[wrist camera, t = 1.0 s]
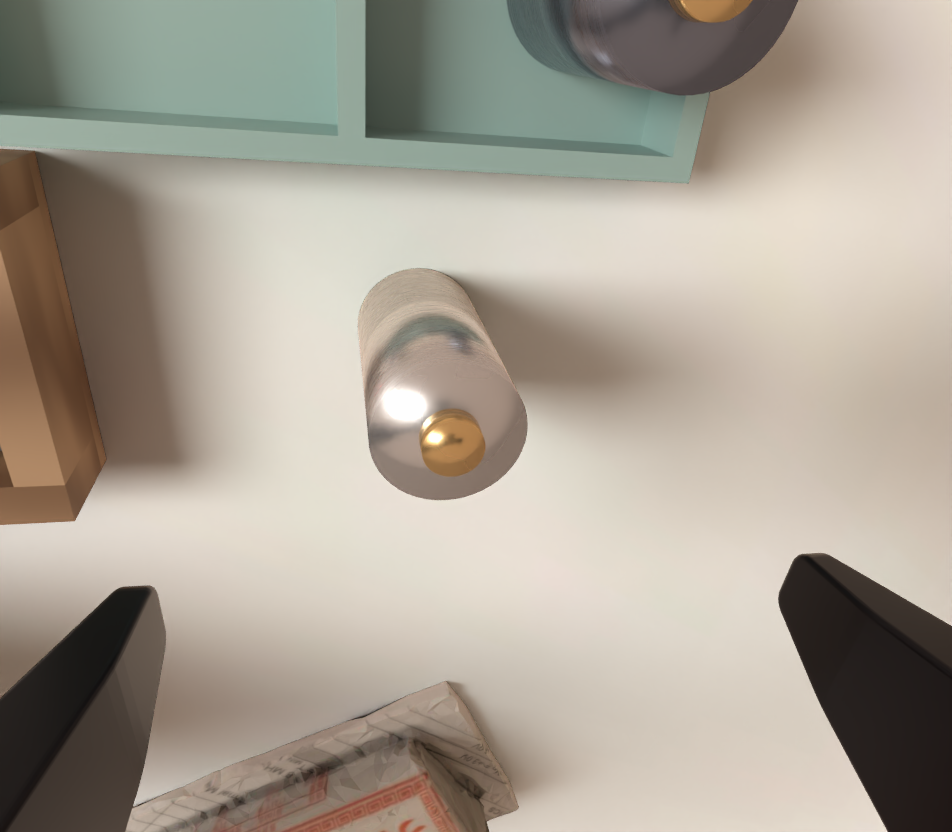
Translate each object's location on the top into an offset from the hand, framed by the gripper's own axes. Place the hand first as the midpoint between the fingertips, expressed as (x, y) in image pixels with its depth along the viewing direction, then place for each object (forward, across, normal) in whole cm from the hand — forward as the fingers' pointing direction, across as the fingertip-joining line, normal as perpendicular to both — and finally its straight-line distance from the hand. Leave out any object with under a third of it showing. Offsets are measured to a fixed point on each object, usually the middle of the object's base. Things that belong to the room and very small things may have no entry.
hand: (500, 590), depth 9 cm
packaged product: (+12, +4, +26) cm, 29 cm away
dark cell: (+12, -3, -8) cm, 15 cm away
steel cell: (+12, 0, +1) cm, 12 cm away
